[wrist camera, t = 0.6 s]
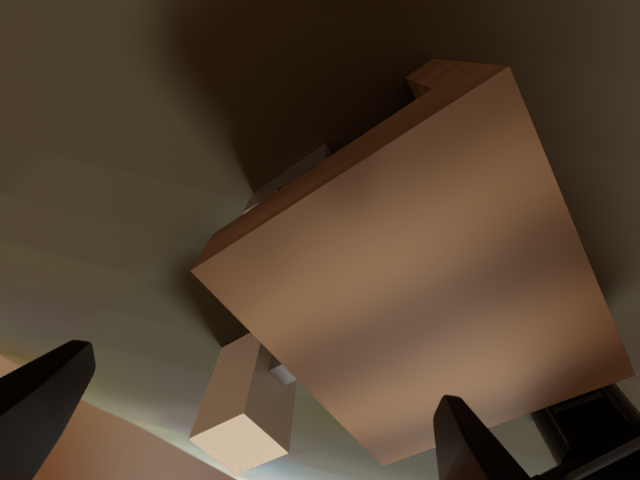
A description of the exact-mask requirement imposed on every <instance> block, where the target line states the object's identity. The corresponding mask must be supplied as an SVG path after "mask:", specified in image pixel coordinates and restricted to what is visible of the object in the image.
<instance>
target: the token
mask: <svg viewBox="0 0 640 480" xmlns="http://www.w3.org/2000/svg"><path fill="white" fill-rule="evenodd" d="M332 155H333V154H332V153H331V151H330V150H329V148H328V147H327V145H326V144H323V145H322V146H321V147H319V148H318V149H316V150H315V151H313V152H312V153H311V154H309V155H308V156H306V157H305V158H303V159H302V160H301V161H299V162H298V163H296V164H295V165H293V166H292V167H290V168H289V169H288V170H286V171H285V172H283V173H282V174H280V175H279V176H278V177H276V178H275V179H273V180H272V181H270V182H269V183H268V184H266V185H265V186H263V187H262V188H260V189H259V190H258V191H256V192H255V193H253V195H252V197H251V199H250V201H249V203H248V204H247V206H246V208H245V210H244V212H243V213H246V212H247V211H249V210H250V209H252V208H253V207H255V206H257V205H258V204H260V203H261V202H263V201H264V200H266V199H267V198H269V197H270V196H272V195H273V194H275V193H276V192H278V191H279V190H281V189H282V188H284V187H285V186H287V185H288V184H290V183H291V182H293V181H294V180H296V179H297V178H299V177H300V176H302V175H303V174H305V173H306V172H308V171H309V170H311V169H312V168H314V167H315V166H317V165H318V164H320V163H321V162H323V161H324V160H326V159H327V158H329V157H330V156H332Z"/></svg>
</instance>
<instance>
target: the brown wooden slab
mask: <svg viewBox="0 0 640 480" xmlns="http://www.w3.org/2000/svg"><path fill="white" fill-rule="evenodd" d="M405 79H406V81H407V82H408V84H409V86H410V88H411V90H412V92H413V94H414V96H415V98H416V100H414V101H413V102H411V103H410V104H408V105H407V106H405V107H404V108H402V109H401V110H399V111H398V112H396V113H395V114H393V115H392V116H390V117H389V118H387V119H386V120H384V121H383V122H381V123H380V124H378V125H377V126H375V127H374V128H372V129H371V130H369V131H368V132H366V133H365V134H363V135H362V136H360V137H359V138H357V139H356V140H354V141H353V142H351V143H350V144H348V145H347V146H345V147H344V148H342V149H341V150H339V151H338V152H336V153H335V154H333V155H332V156H330V157H329V158H327V159H326V160H324V161H323V162H321V163H320V164H318V165H317V166H315V167H314V168H312V169H311V170H309V171H308V172H306V173H305V174H303V175H302V176H300V177H299V178H297V179H296V180H294V181H293V182H291V183H290V184H288V185H287V186H285V187H284V188H282V189H281V190H279V191H278V192H276V193H275V194H273V195H272V196H270V197H269V198H267V199H266V200H264V201H263V202H261V203H260V204H258V205H257V206H255V207H253V208H252V209H250V210H249V211H247V212H246V213H244V214H243V215H241V216H240V217H238V218H237V219H235V220H234V221H232V222H231V223H229V224H228V225H226V226H225V227H223V228H222V229H220V230H219V231H217V232H216V233H214V234H213V236H212V237H211V239H210V241H209V242H208V244H207V245H206V247H205V248H204V250H203V252H202V253H201V255H200V256H199V258H198V260H197V261H196V263H195V264H194V266H193V267H192V269H191V272H192V273H193V274H194V275H195V276H196V277H197V278H198V279H199V280H200V281H201V282H202V283H203V284H204V285H205V286H206V287H207V288H208V289H209V290H210V291H211V292H212V293H213V294H214V295H215V296H216V297H217V299H218V300H219V301H220V302H221V303H222V304H223V305H224V306H225V307H226V308H227V309H228V310H229V311H230V312H231V313H232V314H233V315H234V316H235V317H236V318H237V319H238V320H239V321H240V322H241V323H242V324H243V325H244V326H245V327H246V328H247V329H248V330H249V331H250V332H251V333H252V334H253V335H254V336H255V337H256V338H257V339H258V340H259V341H260V342H261V343H262V344H263V345H264V346H265V347H266V348H267V349H268V350H269V351H270V352H271V353H272V354H273V355H274V356H275V357H276V359H277V360H278V361H279V362H280V363H281V364H282V365H283V366H284V367H285V368H286V369H287V370H288V371H289V372H290V373H291V374H292V375H293V376H294V377H295V378H296V379H297V380H298V381H299V382H300V383H301V384H302V385H303V386H304V387H305V388H306V389H307V390H308V391H309V392H310V393H311V394H312V395H313V396H314V397H315V398H316V399H317V400H318V401H319V402H320V403H321V404H322V405H323V406H324V407H325V408H326V409H327V410H328V411H329V412H330V413H331V414H332V415H333V416H334V417H335V419H336V420H337V421H338V422H339V423H340V424H341V425H342V426H343V427H344V428H345V429H346V430H347V431H348V432H349V433H350V434H351V435H352V436H353V437H354V438H355V439H356V440H357V441H358V442H359V443H360V444H361V445H362V446H363V447H364V448H365V449H366V450H367V451H368V452H369V453H370V454H371V455H372V456H373V457H374V458H375V459H376V460H377V461H378V462H379V463H380V464H381V465H382V466H384V465H387V464H390V463H393V462H395V461H398V460H401V459H404V458H407V457H409V456H412V455H415V454H418V453H420V452H423V451H426V450H429V449H432V448H434V447H436V446H435V437H434V428H433V417H434V413H435V411H436V409H437V407H438V405H439V402H440V400H441V398H442V396H444V395H446V394H447V395H454V396H459V397H461V398H462V399H463V400H464V401H465V403H466V404H467V405H468V406H469V407H470V408H471V409H472V411H473V412H474V413H475V414H476V415H477V416H478V418H479V419H480V420H481V421H482V422H483V423H484V425H485V426H486V427H487V428H490V427H493V426H495V425H498V424H501V423H504V422H507V421H509V420H512V419H515V418H518V417H520V416H523V415H526V414H529V413H532V412H534V411H537V410H540V409H543V408H545V407H548V406H551V405H554V404H557V403H559V402H562V401H565V400H568V399H570V398H573V397H576V396H579V395H582V394H584V393H587V392H590V391H593V390H595V389H598V388H601V387H604V386H606V385H609V384H612V383H615V382H618V381H620V380H623V379H626V378H629V377H631V376H634V375H635V373H634V370H633V368H632V365H631V363H630V360H629V358H628V355H627V353H626V351H625V348H624V346H623V343H622V341H621V338H620V336H619V333H618V331H617V328H616V326H615V324H614V321H613V319H612V316H611V314H610V311H609V309H608V306H607V304H606V301H605V299H604V297H603V294H602V292H601V289H600V287H599V284H598V282H597V279H596V277H595V275H594V272H593V270H592V267H591V265H590V262H589V260H588V257H587V255H586V252H585V250H584V248H583V245H582V243H581V240H580V238H579V235H578V233H577V230H576V228H575V225H574V223H573V221H572V218H571V216H570V213H569V211H568V208H567V206H566V203H565V201H564V198H563V196H562V194H561V191H560V189H559V186H558V184H557V181H556V179H555V176H554V174H553V172H552V169H551V167H550V164H549V162H548V159H547V157H546V154H545V152H544V149H543V147H542V145H541V142H540V140H539V137H538V135H537V132H536V130H535V127H534V125H533V122H532V120H531V118H530V115H529V113H528V110H527V108H526V105H525V103H524V100H523V98H522V95H521V93H520V91H519V88H518V86H517V83H516V81H515V78H514V76H513V73H512V71H511V69H510V66H505V65H495V64H485V63H475V62H465V61H454V60H444V59H434V58H433V59H431V60H430V61H428V62H427V63H425V64H424V65H423V66H421V67H420V68H418V69H417V70H415V71H414V72H412V73H411V74H409V75H408V76H407V77H405Z"/></svg>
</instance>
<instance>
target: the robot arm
mask: <svg viewBox="0 0 640 480" xmlns="http://www.w3.org/2000/svg"><path fill="white" fill-rule="evenodd" d="M95 367H96V364H95V358H94V352H93V346H92V344H91V343H90V342H88V341H81V340H71V341H69V342H67V343H65V344H63V345H61V346H60V347H58V348H56V349H54V350H52V351H50V352H48V353H46V354H44V355H43V356H41V357H39V358H37V359H35V360H33V361H31V362H29V363H27V364H26V365H24V366H22V367H20V368H18V369H16V370H14V371H12V372H11V373H9V374H7V375H5V376H3V377H1V378H0V480H32V479H33V478H34V476H35V475H36V473H37V472H38V470H39V469H40V467H41V466H42V464H43V463H44V461H45V460H46V458H47V457H48V455H49V454H50V452H51V451H52V449H53V447H54V446H55V444H56V443H57V441H58V440H59V438H60V436H61V435H62V433H63V431H64V430H65V428H66V426H67V424H68V422H69V420H70V418H71V417H72V414H73V413H74V410H75V409H76V407H77V405H78V403H79V401H80V399H81V398H82V396H83V394H84V392H85V390H86V388H87V386H88V384H89V382H90V380H91V379H92V377H93V375H94V372H95ZM526 417H527V418H528V420H530V421H534V423H535V424H536V426H537V428H538V430H539V432H540V434H541V436H542V437H543V439H544V441H545V443H546V445H547V447H548V448H549V450H550V452H551V454H552V456H553V458H554V459H555V461H556V463H557V466H556V467H554V468H552V469H550V470H548V471H546V472H544V473H543V474H541V475H535V476H533V477H531V478H530V477H529V476H528V474H527V473H526V472H525V471H524V470H523V469H522V467H521V466H520V465H519V464H518V463H517V462H516V460H515V459H514V458H513V457H512V456H511V455H510V453H509V452H508V451H507V450H506V449H505V448H504V447H503V445H502V444H501V443H500V442H499V441H498V440H497V438H496V437H495V436H494V435H493V434H492V433H491V431H490V430H489V429H488V428H487V427H486V426H485V425H484V423H483V422H482V421H481V420H480V419H479V418H478V416H477V415H476V414H475V413H474V412H473V411H472V409H471V408H470V407H469V406H468V405H467V404H466V403H465V401H464V400H463V399H462V398H461V397H459V396H454V395H447V394H446V395H444V396H442V398H441V400H440V402H439V405H438V407H437V409H436V411H435V413H434V417H433V428H434V437H435V446H436V455H437V464H438V473H439V480H640V412H639V411H638V410H637V409H636V408H635V406H634V405H633V404H632V403H631V402H630V400H629V399H628V398H627V397H626V396H625V395H624V393H623V392H622V391H621V390H620V389H619V387H618V386H617V385H616V384H615V383H612V384H609V385H606V386H604V387H601V388H598V389H595V390H593V391H590V392H587V393H584V394H582V395H579V396H576V397H573V398H570V399H568V400H565V401H562V402H559V403H557V404H554V405H551V406H548V407H545V408H543V409H540V410H537V411H534V412H532V413H529V414H526Z"/></svg>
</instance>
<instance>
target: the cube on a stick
mask: <svg viewBox="0 0 640 480" xmlns="http://www.w3.org/2000/svg"><path fill="white" fill-rule="evenodd" d="M296 380H297V379H296V378H295V377H294V376H293V375H292V374H291V373H290V372H289V371H288V370H287V369H286V368H285V367H284V366H283V365H282V364H281V363H280V362H279V361H278V360H277V359H276V357H275V356H274V355H273V354H272V353H271V352H270V351H269V350H268V349H267V348H266V347H265V346H264V345H263V344H262V343H261V342H260V341H259V340H258V339H257V338H256V337H255V336H254V335H253V334H252V333H251V332H250V333H249V334H247V335H245V336H243V337H241V338H239V339H237V340H236V341H234V342H232V343H230V344H228V345H226V346H225V347H223V348H222V349H221V352H220V355H219V357H218V360H217V363H216V365H215V368H214V371H213V374H212V376H211V379H210V382H209V384H208V387H207V390H206V393H205V395H204V398H203V401H202V404H201V406H200V409H199V412H198V414H197V417H196V420H195V423H194V425H193V428H192V431H191V433H190V436H189V440H191V441H192V442H193V443H195V444H196V445H197V446H198V447H200V448H201V449H202V450H204V451H205V452H206V453H208V454H209V455H210V456H211V457H213V458H214V459H215V460H217V461H218V462H219V463H220V464H222V465H223V466H224V467H226V468H227V469H228V470H230V471H231V472H232V473H233V474H235V475H236V474H238V473H241V472H243V471H246V470H248V469H251V468H253V467H256V466H258V465H261V464H263V463H266V462H268V461H271V460H273V459H275V458H278V457H280V456H283V455H285V454H288V453H289V446H290V436H291V427H292V418H293V408H294V399H295V390H296Z"/></svg>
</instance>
